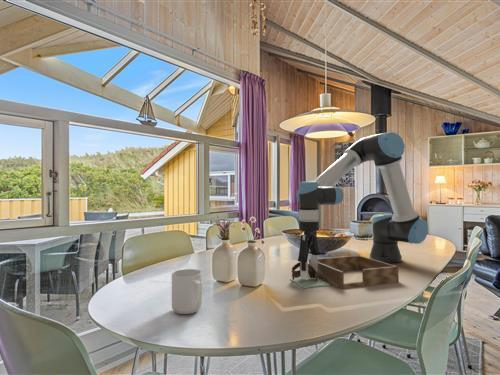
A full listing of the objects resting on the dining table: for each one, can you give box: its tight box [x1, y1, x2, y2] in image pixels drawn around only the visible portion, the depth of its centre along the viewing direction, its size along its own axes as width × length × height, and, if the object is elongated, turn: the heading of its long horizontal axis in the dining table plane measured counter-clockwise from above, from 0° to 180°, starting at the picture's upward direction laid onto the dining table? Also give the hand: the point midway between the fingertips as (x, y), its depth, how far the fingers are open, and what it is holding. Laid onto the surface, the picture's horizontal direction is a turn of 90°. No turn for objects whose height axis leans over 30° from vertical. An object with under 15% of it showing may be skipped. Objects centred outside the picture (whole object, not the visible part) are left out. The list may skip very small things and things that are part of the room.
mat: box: [289, 276, 331, 289], centre depth 123 cm, size 11×12×1 cm
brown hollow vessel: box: [291, 262, 318, 281], centre depth 125 cm, size 12×9×8 cm
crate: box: [308, 255, 400, 290], centre depth 130 cm, size 26×24×6 cm
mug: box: [171, 268, 203, 315], centre depth 94 cm, size 12×9×11 cm
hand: (309, 275), depth 123 cm, fingers open, 13 cm apart
